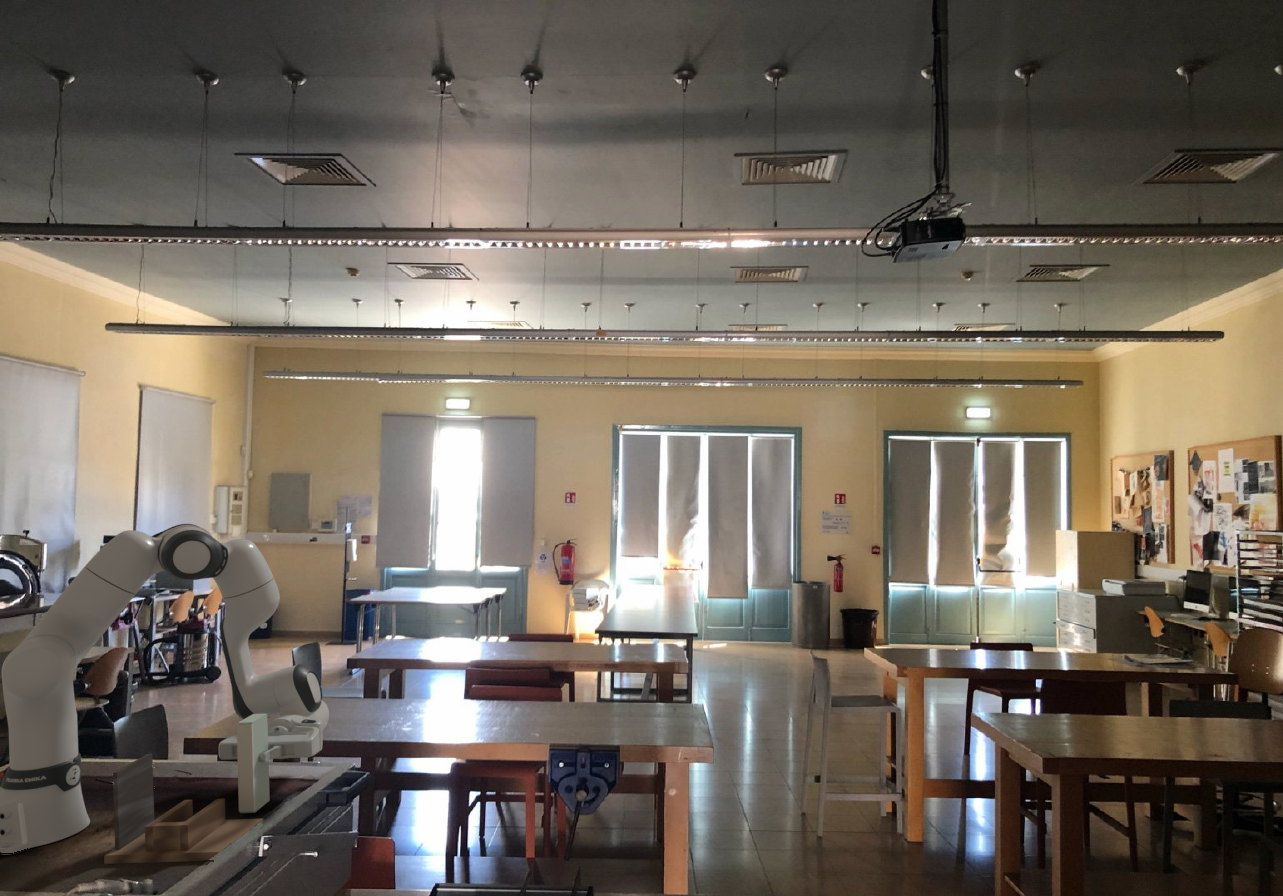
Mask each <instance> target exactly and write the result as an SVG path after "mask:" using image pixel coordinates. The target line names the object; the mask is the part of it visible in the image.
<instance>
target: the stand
mask: <svg viewBox="0 0 1283 896" xmlns="http://www.w3.org/2000/svg"><path fill="white" fill-rule="evenodd" d="M153 764H154V762H153V753H146V755H143V756H141V757H140V758H138V759H136V760H134V761H132V762H130V763H129V764H127V765H125V766H122V767H121V768H119V769H117V770H115V771H113V772H112V773H113V774H112V783H113V784H112V785H113V786H112V788H113V790H112V791H113V793H112V794H113V821H114V822H113V823H114V824H113V827H114V828H113V829H114V848H113V849H112V850H109V852H107V853H106V854H104V855H103V857H104V858H103V860H104V865H107V864H109V865H110V864H141V863H142V864H145V863H147V864H148V863H174V862H175V863H177V862H179V863H181V862H205V861H204V860H208V859H209V858H210V857H214V855H216V854H217V853H219V852H221V851H222V850H223V849H224V848H226V847H227V846H228V845H229V844H230V843H233V842H234V841H236V840H237V839H238V838H240V837H241V836H243V834H245V833H247V832H248V831H249V830H250V829H252V828H253V827H254V826H255V825H256V824H258V823H259V822H260V821H262V820H263V821H264V818H242V819H241V818H240V819H239V818H238V819H226V799H225V798H216V799H214V800H213V801H212V802H211V803H209V804H208V805H206V806H205V807H204V808H202V809H201V810H199V811H198V812H196V813H195V814H194V811H193V799H184V800H183V801H181V802H179V803H178V804H177V805H174V806H173V807H172V808H170V809H169V810H167V811H165V813H163V814H162V815H160V816H158V817H157V818H155V802H154V798H155V797H154V793H155V792H154V789H153V787H154V767H153Z"/></svg>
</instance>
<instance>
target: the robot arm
mask: <svg viewBox="0 0 1283 896" xmlns="http://www.w3.org/2000/svg"><path fill="white" fill-rule="evenodd" d="M160 572H166V573H168V575H169V576H171V577H173V578H175V579H177V580H181V581H197V580H204V579H213V580H214V581H215V583H216V586H217V587H218V590H219V592H220V595H221V597H222V598H223V599H222V600H223V603H224V606H225V615H224V617H223V618H222V619H221V621H220V624H219V633H220V640H221V642H220V643H221V646H222V651H223V655H224V659H225V663H226V668H227V672H228V677H229V681H230V685H231V694H232V696H231V697H232V705H233V706H232V707H233V709H234V712H235V714H236V715H237V716H238V717H239V718H240V719H242V720H244V719H245V718H247V717H249V716H251V715H252V714H267V719H269V718H270V717H274V716H277V715H279V716H277V717H276V718H274V719H273V720H272V719H271V721H269V722H268V750H267V751H262V752H261V753H260V754H259V762H267V761H269V762H270V761H271V760H274V759H276V760H284V759H297V758H298V759H299V758H310V757H313V756H315V755H316V754H318V753H320V751H322V750H323V743H324V742H323V741H324V739H323V738H324V735H323V734H324V733H323V732H324V730H325V729H326V728H327V725H328V723H329V720H330V710H329V706H328V704H327V703H326V702H325V701H324V700H323V691H322V690H323V689H322V684H321V681H320V679H319V677H318V675H317V674H316V673H315V672H314V671H313V670H312V669H311V668H310V667H308V665H307V666H306V665H304V664H301V663H300V664H299V663H298V664H295V665H292V666H288V667H285V668H282V669H278V670H276V671H273V672H269V673H266V674H262V675H259V674H257V673H256V672H255V669H254V665H253V661H252V656H251V651H250V646H249V638H250V635H251V634H252V633H253V632H255V631H256V630H257V629H258V628H260V627H261V626H262V625H263V624H265V623H266V622H267V621H268V620H269V619H270V618H271V617H272V616H273V615H274V613H276V611H277V609H278V608H279V604H280V601H281V595H280V589H279V587H278V585H277V582H276V580H275V577H274V575H273V572H272V570H271V568H270V566H269V564H268V562H267V560H266V559H265V556H264V555H263V554H262V553H261V551H260V549H259V548H258V546H257V545H256V544H255V543H254V542H253V541H251V540H249V539H246V538H237V539H232V540H229V541H227V542H226V541H225V542H220V541H219V540H217V539H216V538H215V537H213V535H212V534H211V533H210V531H207V530H206V529H205V528H203V527H200V526H199V525H196V524H192V523H181V524H176V525H174V526H171V527H169V528H167V529H165V530H163V531H160V532H158V533H155V534H153V535H152V536H151V535H149V534H147V533H145V532H143V531H140V530H135V529H134V530H130V529H129V530H123V531H121V532H119V533H117V534H116V536H113V538H112V539H110V540H109V541H108V542H107V543H106V544H105V545H103V547H102V548H100V549H99V551H97V552H96V554H94V555H93V557H92V558H90V560H89V561H88V562H87V563H86V564H85V565H84V566H83V568H82V569H81V570H80V571H79V573H78V574H77V575H76V576H75V577H74V578H73V580H72V581H71V582H70V583H69V585H68V586H66V588H65V589H64V590H63V591H62V593H61V594H60V595H59V596H58V597H57V599H55V601H54V603H52V605H51V607H50V608H49V609H48V610H47V611H46V613H45V614H44V615H43V616H42V618H41V619H40V620H39V621H38V622H37V624H36V625H35V626H34V627H33V628H32V629H31V631H29V633H28V634H27V635H26V636H25V638H24V639H23V640H22V641H21V642H20V643H19V644H18V645H17V646H16V647H14V649H13V650H12V651H10V652H9V654H8V655H7V656H6V657H5V659H4V661H3V664H2V667H1V681H2V682H1V683H2V693H3V694H2V695H3V701H4V708H5V714H6V718H7V719H6V720H7V727H8V751H9V753H8V755H9V766H7V767H6V768H5V769H3V770H1V771H0V779H1V778H3V779H2V781H1V784H0V852H1V853H13V854H15V853H14V852H17V851H20V852H22V851H21V850H23V851H25V850H24V849H26V850H27V848H28V849H31V848H35V847H36V848H37V847H39V846H43V845H48V844H51V843H55V842H58V841H61V840H63V839H66V838H68V837H72V836H73V835H76V834H78V833H80V832H81V831H83V830H84V829H86V828H87V827H88V826H89V825H90V823H91V820H90V817H89V815H88V812H87V809H86V805H85V801H84V795H83V792H82V791H83V790H82V785H81V779H82V778H81V777H82V770H83V769H82V755H81V753H80V752H79V737H78V736H79V734H78V733H79V731H78V728H79V727H78V712H77V708H76V700H75V699H76V698H75V689H74V676H73V675H74V674H73V673H74V671H75V669H76V668H77V666H78V665H79V664H80V663H81V662H82V660H83V659H84V658H85V656H87V654H88V653H89V652H90V651H91V650H92V648H93V647H94V646H95V644H97V642H98V641H99V640H100V638H101V637H102V636H103V635H104V634H105V633H106V632H107V631H108V629H109V628H110V627H111V626H112V624H113V623H114V622H115V620H116V619H117V618H118V617H119V616H120V614H122V612H123V610H124V609H126V607H127V606H128V605H129V603H130V602H131V601H132V600H133V598H134V597H135V596H136V595H137V593H138V592H139V591H140V589H142V587H143V586H144V584H145V583H146V582H147V581H148V580H149V579H151V577H153V576H154V575H156V574H158V573H160ZM218 757H219V759H220V760H224V761H225V760H226V761H227V760H238V757H237V733H236V734H233V735H231V736H229V737H227V738H225V739H223V740H221V741H220V742H219V744H218ZM17 853H18V852H17Z"/></svg>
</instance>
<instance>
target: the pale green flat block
mask: <svg viewBox="0 0 1283 896" xmlns="http://www.w3.org/2000/svg"><path fill="white" fill-rule="evenodd" d="M268 723H269V722H268V718H267V714H252V715H251V716H249V717H247V718H245V719H242V720H240V721H238V722H237V725H236V734H237V757H238V759H237V787H238V788H237V789H238V790H237V791H238V793H237V794H238V812H239V813H240V814H253V813H256V812H257V811H259V810H260V809H261V808H262V807H264V806H265V805H266V804H267V803H268V802H270V799H271V797H270V796H271V795H270V767H269V765H270V764H269V762H270V760H269V761H267V762H259V754H260V753H261V752H262V751H267V750H268Z"/></svg>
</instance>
